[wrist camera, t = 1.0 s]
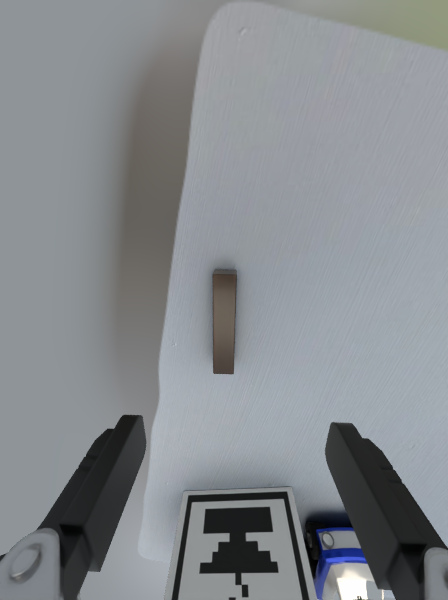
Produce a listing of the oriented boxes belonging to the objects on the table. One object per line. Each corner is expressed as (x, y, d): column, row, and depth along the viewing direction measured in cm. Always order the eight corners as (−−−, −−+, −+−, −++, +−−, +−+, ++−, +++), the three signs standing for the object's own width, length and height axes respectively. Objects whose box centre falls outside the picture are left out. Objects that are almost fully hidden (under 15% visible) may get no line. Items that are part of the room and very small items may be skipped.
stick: (214, 361, 23) (213, 373, 21) (214, 269, 20) (212, 274, 18) (233, 362, 23) (233, 374, 21) (236, 269, 20) (236, 274, 18)
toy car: (374, 511, 30) (434, 630, 21) (358, 558, 34) (403, 675, 25) (307, 508, 31) (338, 625, 22) (299, 555, 35) (322, 670, 26)
